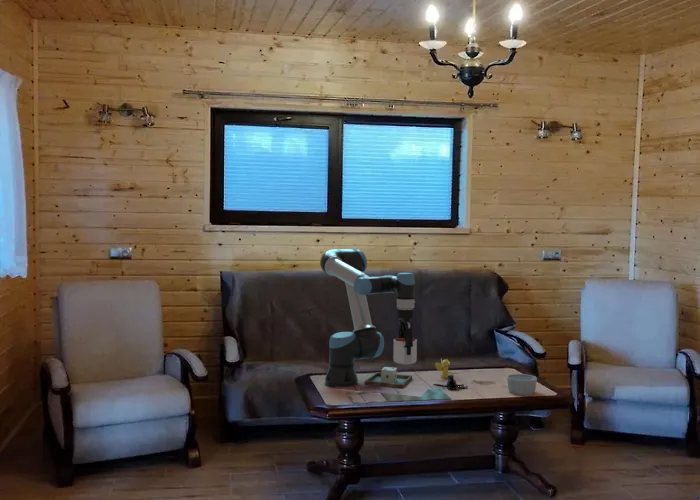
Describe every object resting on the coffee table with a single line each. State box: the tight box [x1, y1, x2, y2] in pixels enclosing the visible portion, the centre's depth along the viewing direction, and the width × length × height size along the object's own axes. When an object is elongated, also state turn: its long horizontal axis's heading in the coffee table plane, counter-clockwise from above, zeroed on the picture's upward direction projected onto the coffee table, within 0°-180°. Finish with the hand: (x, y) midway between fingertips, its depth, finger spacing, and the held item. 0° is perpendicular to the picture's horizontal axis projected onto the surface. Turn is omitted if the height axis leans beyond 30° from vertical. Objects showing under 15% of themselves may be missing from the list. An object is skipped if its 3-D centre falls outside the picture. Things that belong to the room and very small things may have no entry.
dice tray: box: [364, 371, 413, 389], centre depth 334 cm, size 18×18×2 cm
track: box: [345, 388, 452, 405], centre depth 310 cm, size 43×16×1 cm, turn 101°
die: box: [380, 366, 398, 383], centre depth 333 cm, size 6×6×6 cm
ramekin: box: [506, 373, 538, 396], centre depth 320 cm, size 13×13×7 cm
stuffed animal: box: [432, 374, 469, 391], centre depth 327 cm, size 12×10×12 cm
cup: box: [392, 337, 418, 365], centre depth 309 cm, size 10×10×10 cm
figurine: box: [434, 358, 460, 379], centre depth 344 cm, size 12×12×9 cm
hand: (405, 359), depth 309 cm, fingers closed on cup, 10 cm apart
